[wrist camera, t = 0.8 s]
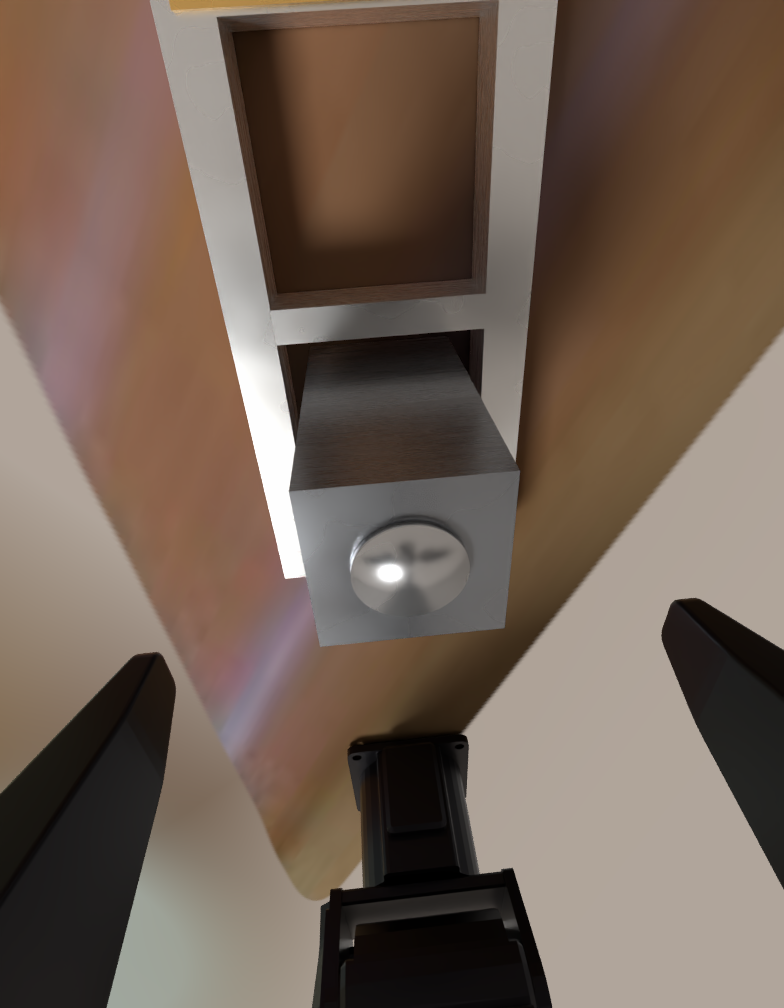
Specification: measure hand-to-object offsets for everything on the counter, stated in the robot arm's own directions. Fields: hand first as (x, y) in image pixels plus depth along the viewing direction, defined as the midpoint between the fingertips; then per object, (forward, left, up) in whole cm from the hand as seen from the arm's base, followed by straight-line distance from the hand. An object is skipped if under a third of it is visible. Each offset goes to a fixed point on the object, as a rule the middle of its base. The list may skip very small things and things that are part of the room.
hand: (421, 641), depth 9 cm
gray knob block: (0, 0, -10) cm, 10 cm away
